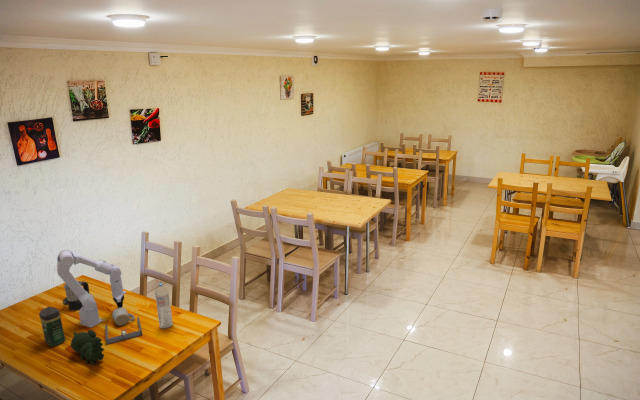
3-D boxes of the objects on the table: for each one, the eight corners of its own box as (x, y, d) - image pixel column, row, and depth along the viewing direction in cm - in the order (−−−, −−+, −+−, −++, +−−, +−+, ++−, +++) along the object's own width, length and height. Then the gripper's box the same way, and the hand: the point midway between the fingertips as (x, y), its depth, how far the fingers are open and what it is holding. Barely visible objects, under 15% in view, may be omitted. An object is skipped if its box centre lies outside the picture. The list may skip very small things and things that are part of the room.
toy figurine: (111, 364, 208) (85, 341, 222) (107, 330, 201) (80, 310, 215) (91, 374, 201) (66, 351, 214) (86, 340, 194) (60, 318, 208)
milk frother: (80, 311, 251) (76, 288, 247) (53, 311, 252) (48, 288, 248) (93, 299, 265) (89, 276, 261) (68, 299, 265) (63, 277, 261)
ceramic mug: (116, 328, 234) (114, 315, 232) (112, 321, 240) (111, 309, 238) (136, 322, 240) (135, 309, 238) (133, 315, 246) (131, 303, 244)
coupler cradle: (105, 329, 233) (104, 322, 232) (139, 321, 240) (138, 314, 239) (106, 345, 219) (105, 337, 218) (142, 335, 227) (141, 328, 226)
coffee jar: (68, 341, 223) (61, 309, 218) (51, 348, 217) (44, 316, 212) (59, 334, 229) (52, 303, 224) (43, 342, 223) (35, 310, 218)
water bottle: (175, 323, 237) (170, 282, 230) (166, 330, 231) (160, 288, 224) (166, 321, 240) (160, 280, 233) (156, 327, 234) (150, 285, 227)
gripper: (125, 290, 238) (129, 311, 242) (123, 279, 251) (127, 300, 255) (111, 293, 235) (115, 315, 239) (110, 282, 248) (113, 303, 252)
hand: (120, 307), depth 247 cm, fingers closed
